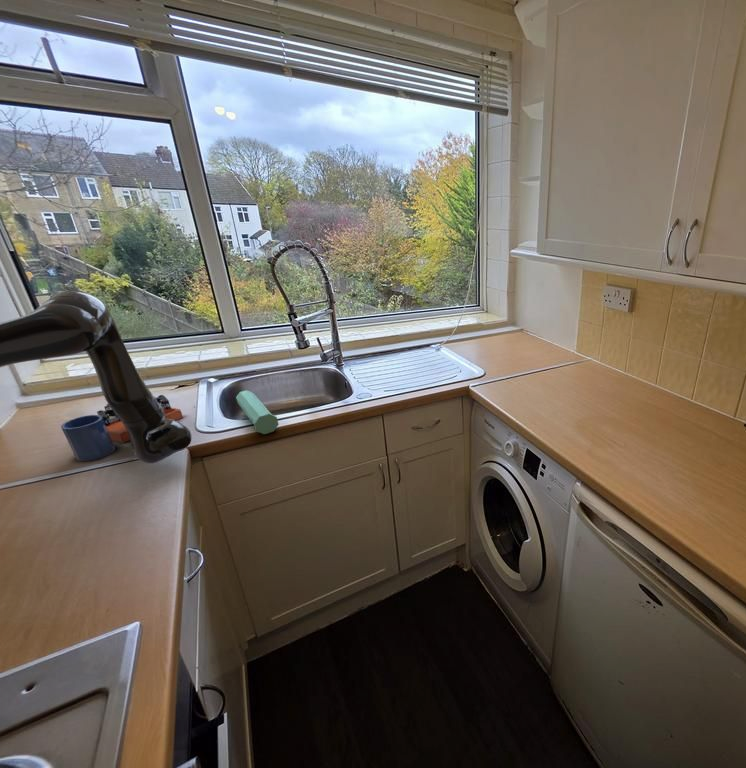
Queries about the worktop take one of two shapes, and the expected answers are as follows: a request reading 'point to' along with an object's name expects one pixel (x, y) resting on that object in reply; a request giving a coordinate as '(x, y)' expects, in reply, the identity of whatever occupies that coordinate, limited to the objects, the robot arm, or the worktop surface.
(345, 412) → the worktop surface
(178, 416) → the terracotta tray
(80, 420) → the blue cup
